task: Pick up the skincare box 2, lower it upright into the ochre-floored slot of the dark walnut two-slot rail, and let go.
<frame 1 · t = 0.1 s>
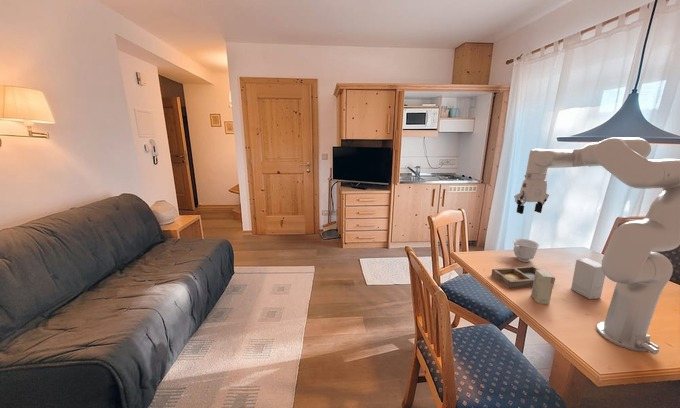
hand: (528, 212, 125), 31 cm above the table, tool pointing down, fingers open, 9 cm apart
teacup: (521, 260, 146), on the table
skincare box 2: (539, 299, 111), on the table
slot rail: (521, 279, 126), on the table
skincare box: (584, 293, 115), on the table
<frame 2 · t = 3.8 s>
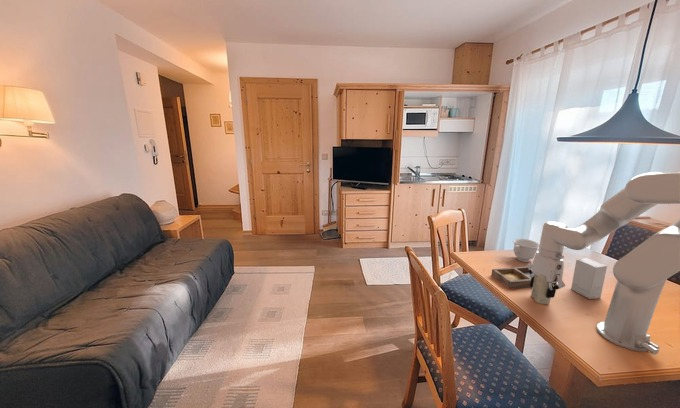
hand: (541, 291, 110), 4 cm above the table, tool pointing down, fingers closed on skincare box 2, 7 cm apart
skincare box 2: (539, 299, 111), on the table, touching gripper
everything else where it was.
when the fingers open (6 cm above the table, at t = 10.0 s): skincare box 2 moves 1 cm, point 1 cm above the table.
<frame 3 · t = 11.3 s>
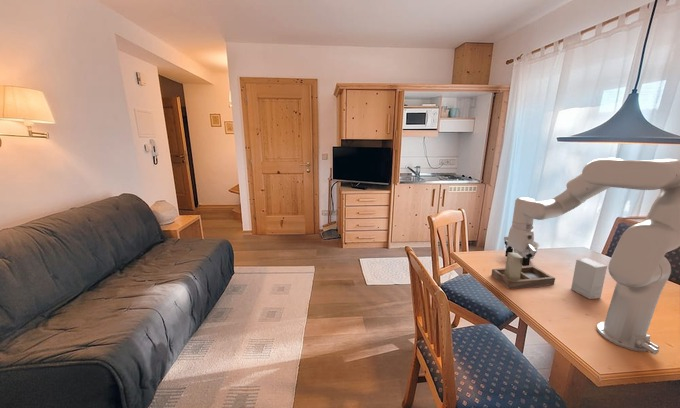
hand: (516, 260, 122), 11 cm above the table, tool pointing down, fingers open, 9 cm apart
skincare box 2: (511, 278, 125), point 1 cm above the table, touching gripper
everything else where it was.
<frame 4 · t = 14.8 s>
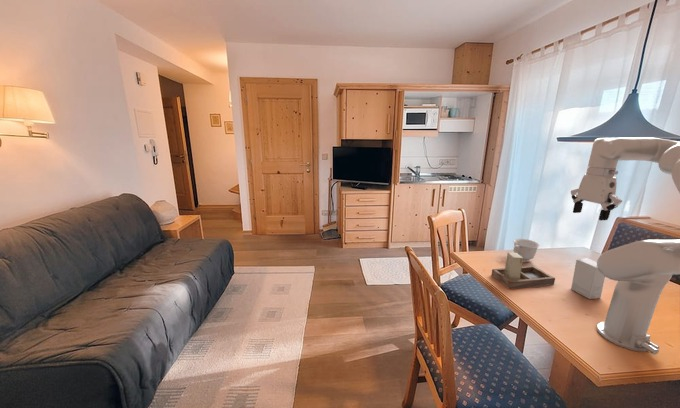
hand: (589, 216, 103), 36 cm above the table, tool pointing down, fingers open, 9 cm apart
skincare box 2: (511, 278, 125), point 1 cm above the table, touching slot rail
everything else where it was.
at the end: skincare box 2 0.3 cm from the target spot on the slot rail, point 0.7 cm above the slot rail's base; skincare box 2 tilted 0°; the gripper is holding nothing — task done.
